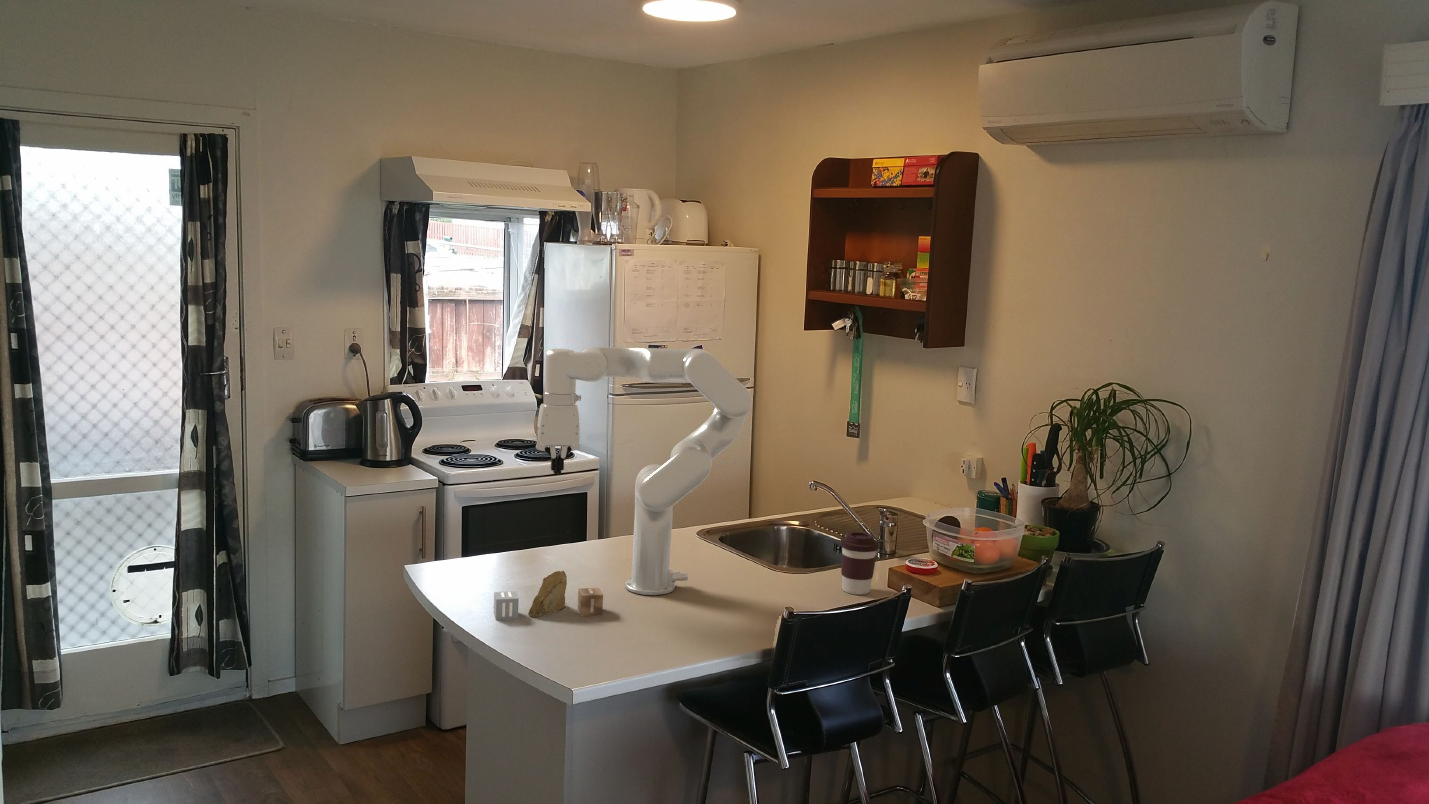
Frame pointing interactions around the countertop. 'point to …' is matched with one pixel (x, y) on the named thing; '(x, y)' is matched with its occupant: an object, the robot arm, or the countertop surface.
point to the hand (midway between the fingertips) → (557, 473)
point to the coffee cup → (858, 562)
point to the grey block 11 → (506, 605)
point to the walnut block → (590, 601)
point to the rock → (550, 595)
